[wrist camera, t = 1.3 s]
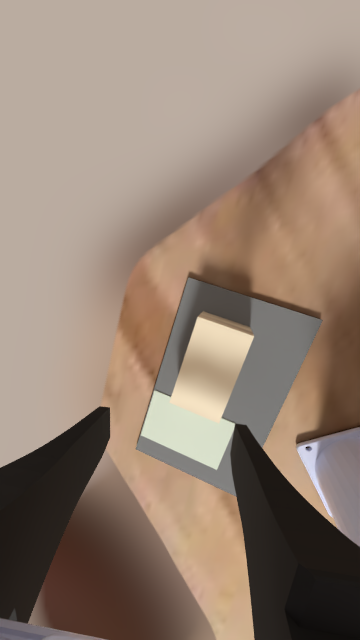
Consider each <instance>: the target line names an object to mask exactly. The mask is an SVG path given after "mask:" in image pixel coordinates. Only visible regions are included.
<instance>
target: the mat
mask: <svg viewBox="0 0 360 640" xmlns="http://www.w3.org/2000/svg"><path fill="white" fill-rule="evenodd" d="M203 311H204V312H207V313H210V314H213V315H216V316H219V317H222V318H225V319H228V320H231V321H234V322H237V323H239V324H242V325H245V326H248V327H250V328H251V330H252V332H253V335H254V338H253V341H252V343H251V346H250V348H249V351H248V353H247V355H246V358H245V360H244V363H243V365H242V368H241V370H240V373H239V375H238V378H237V380H236V383H235V385H234V388H233V390H232V393H231V395H230V398H229V400H228V403H227V405H226V408H225V410H224V413H223V415H222V417H221V420H220V422H219V423H216V422H214V421H212V420H209V419H207V418H205V417H202V416H200V415H198V414H195V413H193V412H190V411H188V410H186V409H183V408H181V407H179V406H176V405H174V404H171V403H169V402H170V399H171V396H172V393H173V390H174V387H175V384H176V381H177V378H178V375H179V372H180V369H181V366H182V363H183V360H184V357H185V354H186V351H187V348H188V345H189V342H190V339H191V335H192V332H193V329H194V326H195V323H196V320H197V317H198V316H199V315H200V314H201V313H202V312H203ZM322 321H323V320H321V319H318V318H315V317H312V316H309V315H305V314H302V313H299V312H296V311H293V310H290V309H287V308H283V307H280V306H277V305H274V304H271V303H268V302H265V301H261V300H258V299H255V298H252V297H249V296H246V295H243V294H239V293H236V292H233V291H230V290H227V289H224V288H221V287H217V286H214V285H211V284H208V283H205V282H202V281H199V280H195V279H192V278H189V277H188V280H187V283H186V287H185V290H184V293H183V296H182V300H181V303H180V306H179V309H178V313H177V316H176V319H175V323H174V326H173V329H172V332H171V336H170V339H169V342H168V345H167V349H166V352H165V355H164V358H163V362H162V365H161V368H160V371H159V375H158V378H157V381H156V385H155V388H154V391H153V394H152V398H151V401H150V404H149V407H148V411H147V414H146V417H145V420H144V424H143V427H142V430H141V434H140V437H139V440H138V443H137V447H136V450H138V451H141V452H143V453H145V454H147V455H149V456H151V457H153V458H155V459H158V460H160V461H162V462H164V463H166V464H168V465H170V466H173V467H175V468H177V469H179V470H181V471H183V472H185V473H187V474H190V475H192V476H194V477H196V478H198V479H200V480H202V481H204V482H207V483H209V484H211V485H213V486H215V487H217V488H219V489H221V490H224V491H226V492H228V493H230V494H232V495H234V496H236V491H235V486H234V481H233V476H232V468H231V457H230V451H231V445H232V439H233V433H234V427H235V424H243V425H247V427H248V428H249V429H250V431H251V433H252V434H253V436H254V437H255V439H256V440H257V441H258V443H259V444H260V446H261V447H263V445H264V443H265V441H266V439H267V437H268V435H269V433H270V431H271V428H272V426H273V424H274V422H275V420H276V418H277V416H278V414H279V412H280V409H281V407H282V405H283V403H284V401H285V399H286V397H287V395H288V393H289V390H290V388H291V386H292V384H293V382H294V380H295V378H296V376H297V374H298V371H299V369H300V367H301V365H302V363H303V361H304V359H305V357H306V355H307V352H308V350H309V348H310V346H311V344H312V342H313V340H314V338H315V336H316V333H317V331H318V329H319V327H320V325H321V323H322ZM236 497H237V496H236Z"/></svg>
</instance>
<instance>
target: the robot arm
mask: <svg viewBox="0 0 360 640" xmlns="http://www.w3.org/2000/svg"><path fill="white" fill-rule="evenodd" d="M109 439H110V408H108V407H98V408H97V409H96V410H94V411H93V412H92V413H90V414H89V415H88V416H86V417H85V418H84V419H82V420H81V421H79V422H78V423H77V424H75V425H74V426H73V427H71V428H70V429H68V430H67V431H65V432H64V433H62V434H61V435H59V436H58V437H56V438H55V439H53V440H52V441H50V442H49V443H47V444H45V445H44V446H42V447H40V448H38V449H37V450H35V451H33V452H31V453H29V454H28V455H26V456H24V457H22V458H20V459H18V460H16V461H14V462H12V463H9V464H8V465H5V466H3V467H1V468H0V640H106V639H101V638H96V637H91V636H86V635H81V634H76V633H71V632H67V631H61V630H56V629H51V628H47V627H42V626H37V625H32V624H28V621H29V618H30V616H31V613H32V611H33V608H34V605H35V603H36V600H37V597H38V595H39V592H40V590H41V587H42V585H43V582H44V580H45V577H46V575H47V572H48V570H49V567H50V565H51V562H52V560H53V557H54V555H55V553H56V550H57V548H58V545H59V543H60V541H61V538H62V536H63V534H64V531H65V529H66V527H67V524H68V522H69V520H70V518H71V515H72V513H73V511H74V509H75V506H76V504H77V502H78V500H79V498H80V497H81V495H82V493H83V491H84V489H85V487H86V485H87V484H88V482H89V480H90V478H91V476H92V474H93V473H94V471H95V469H96V467H97V465H98V463H99V461H100V459H101V458H102V455H103V453H104V451H105V449H106V446H107V444H108V441H109ZM307 446H310V448H306V447H307ZM296 449H297V451H298V453H299V455H300V457H301V459H302V461H303V463H304V465H305V467H306V469H307V471H308V473H309V475H310V477H311V479H312V481H313V483H314V485H315V487H316V489H317V492H318V494H319V496H320V498H321V500H322V502H323V504H324V506H325V508H326V510H327V512H328V514H329V515H330V516H331V517H333V518H334V521H335V523H336V525H337V528H338V529H337V528H336V527H335V526H334V525H332V524H331V523H330V522H329V521H328V520H327V519H326V518H325V517H323V516H322V515H321V514H320V513H319V512H318V511H317V510H316V509H315V508H314V507H313V506H312V505H311V504H310V503H309V502H308V501H307V500H306V499H305V498H304V497H303V496H302V495H301V494H300V493H299V492H298V491H297V490H296V489H295V488H294V487H293V486H292V485H291V484H290V483H289V482H288V480H287V479H286V478H285V477H284V476H283V475H282V473H281V472H280V471H279V470H278V468H277V467H276V466H275V465H274V463H273V462H272V461H271V460H270V458H269V457H268V455H267V454H266V453H265V451H264V450H263V449H262V447H261V446H260V444H259V443H258V441H257V440H256V439H255V437H254V436H253V434H252V433H251V431H250V429H249V428H248V427H247V425H243V424H235V427H234V433H233V439H232V445H231V451H230V457H231V468H232V476H233V481H234V486H235V491H236V496H237V501H238V506H239V511H240V516H241V521H242V527H243V533H244V541H245V550H246V558H247V567H248V576H249V586H250V595H251V606H252V616H253V626H254V638H255V640H360V427H358V428H354V429H350V430H346V431H342V432H339V433H335V434H331V435H327V436H324V437H320V438H316V439H312V440H309V441H305V442H301V443H298V444H297V445H296Z"/></svg>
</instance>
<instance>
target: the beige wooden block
mask: <svg viewBox="0 0 360 640" xmlns="http://www.w3.org/2000/svg"><path fill="white" fill-rule="evenodd" d="M253 338H254V335H253V332H252V330H251V328H250V327H248V326H245V325H242V324H239V323H237V322H234V321H231V320H228V319H225V318H222V317H219V316H216V315H213V314H210V313H207V312H204V311H203V312H202V313H201V314H200V315H199V316H198V317H197V320H196V323H195V326H194V329H193V332H192V335H191V339H190V342H189V345H188V348H187V351H186V354H185V357H184V360H183V363H182V366H181V369H180V372H179V375H178V378H177V381H176V384H175V387H174V390H173V393H172V396H171V399H170V402H169V403H171V404H174V405H176V406H179V407H181V408H183V409H186V410H188V411H190V412H193V413H195V414H198V415H200V416H202V417H205V418H207V419H209V420H212V421H214V422H216V423H219V422H220V420H221V417H222V415H223V413H224V410H225V408H226V405H227V403H228V400H229V398H230V395H231V393H232V390H233V388H234V385H235V383H236V380H237V378H238V375H239V373H240V370H241V368H242V365H243V363H244V360H245V358H246V355H247V353H248V351H249V348H250V346H251V343H252V341H253Z"/></svg>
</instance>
